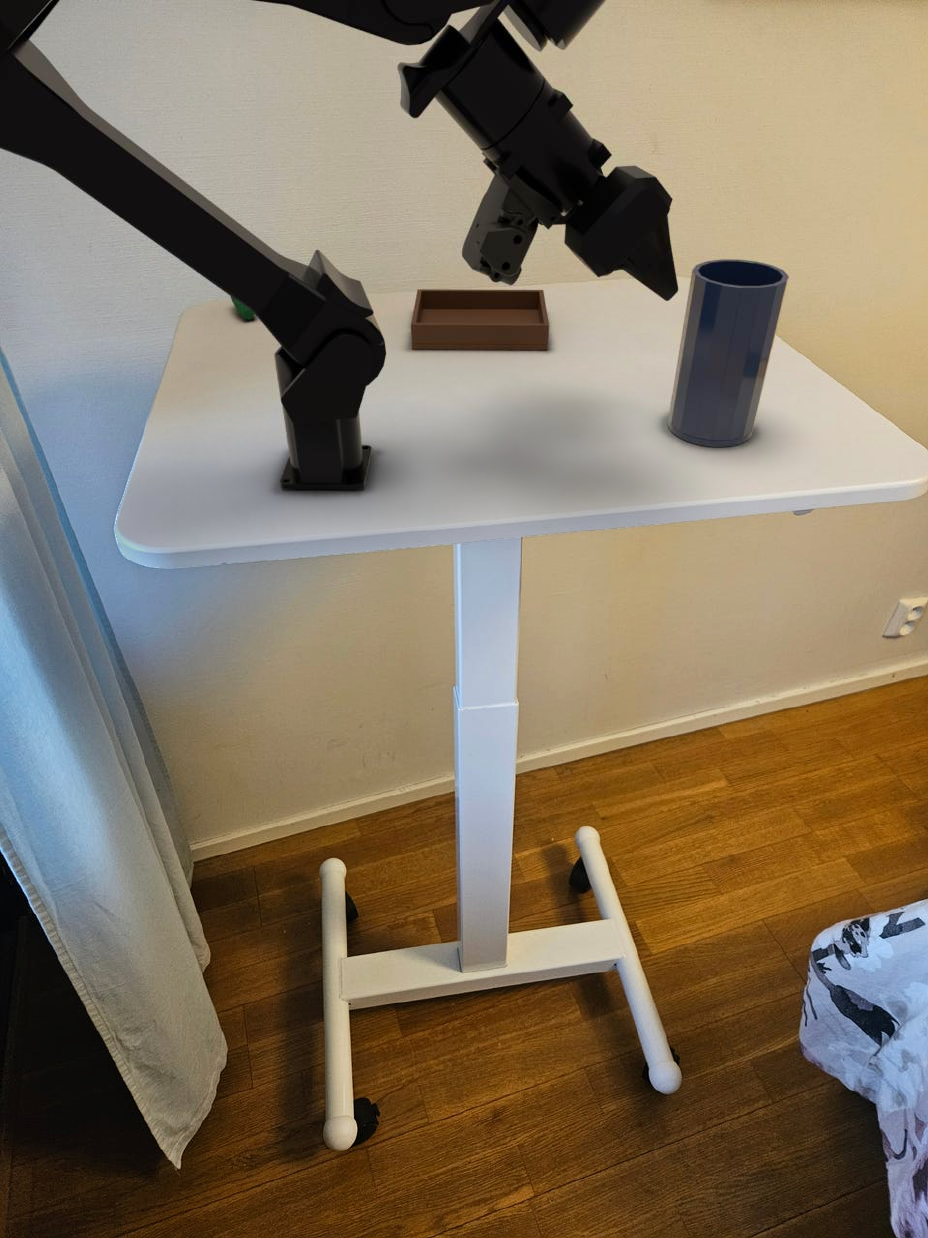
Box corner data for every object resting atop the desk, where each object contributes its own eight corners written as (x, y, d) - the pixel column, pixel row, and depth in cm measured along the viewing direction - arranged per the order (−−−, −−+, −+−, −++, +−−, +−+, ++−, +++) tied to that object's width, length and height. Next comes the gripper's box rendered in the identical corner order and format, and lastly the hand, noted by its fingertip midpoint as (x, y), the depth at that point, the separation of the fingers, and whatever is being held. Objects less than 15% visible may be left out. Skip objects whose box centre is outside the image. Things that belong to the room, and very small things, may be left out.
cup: (761, 447, 71) (799, 287, 62) (675, 446, 71) (703, 287, 63) (741, 410, 76) (774, 259, 68) (661, 409, 76) (685, 258, 68)
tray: (547, 350, 87) (549, 324, 86) (411, 349, 87) (410, 324, 86) (542, 313, 96) (543, 289, 94) (418, 312, 96) (417, 288, 94)
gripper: (403, 181, 65) (535, 315, 73) (456, 251, 50) (611, 406, 59) (506, 55, 61) (631, 212, 70) (594, 92, 47) (737, 282, 56)
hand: (647, 275), depth 64 cm, fingers open, 9 cm apart
